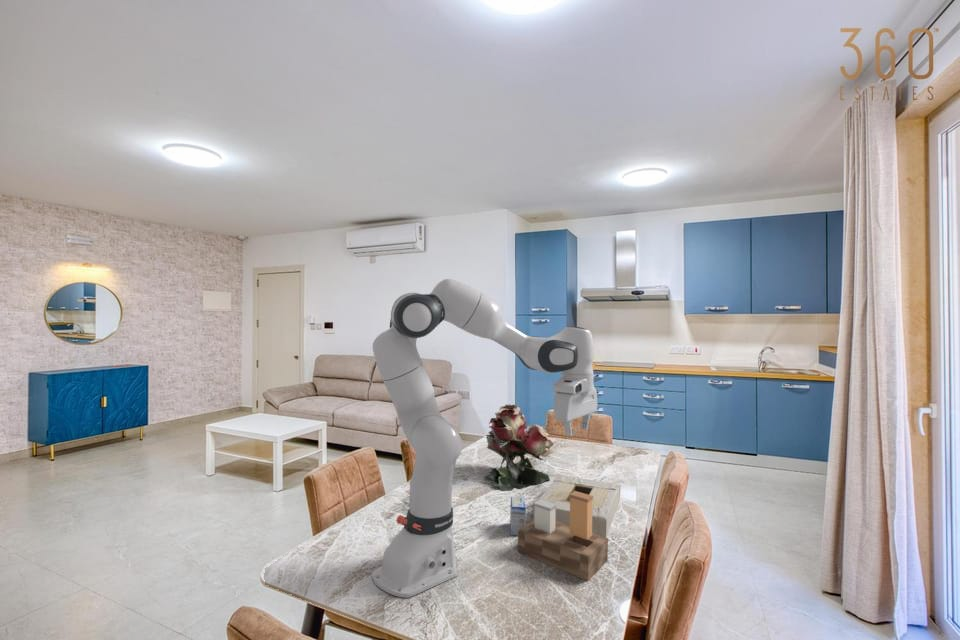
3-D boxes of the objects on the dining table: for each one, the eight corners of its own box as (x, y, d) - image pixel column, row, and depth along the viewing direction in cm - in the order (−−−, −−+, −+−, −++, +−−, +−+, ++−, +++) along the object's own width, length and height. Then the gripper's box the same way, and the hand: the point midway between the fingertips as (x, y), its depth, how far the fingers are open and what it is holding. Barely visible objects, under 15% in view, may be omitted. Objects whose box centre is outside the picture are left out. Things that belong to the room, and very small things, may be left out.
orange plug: (587, 540, 113) (587, 499, 113) (569, 533, 116) (569, 494, 116) (592, 535, 115) (592, 495, 115) (574, 529, 118) (575, 490, 119)
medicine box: (510, 523, 138) (510, 496, 138) (524, 523, 138) (524, 496, 138) (511, 535, 130) (511, 506, 130) (526, 536, 130) (526, 507, 130)
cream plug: (549, 546, 120) (550, 508, 120) (533, 540, 123) (534, 503, 123) (555, 542, 122) (556, 504, 122) (539, 536, 125) (540, 499, 125)
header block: (588, 580, 108) (588, 556, 108) (517, 551, 121) (518, 530, 121) (607, 560, 117) (607, 538, 117) (540, 535, 130) (540, 515, 130)
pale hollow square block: (608, 543, 127) (620, 502, 157) (607, 517, 127) (620, 480, 157) (532, 528, 137) (557, 492, 166) (531, 504, 137) (557, 472, 166)
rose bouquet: (560, 478, 179) (561, 406, 179) (504, 494, 162) (506, 413, 162) (520, 462, 200) (521, 397, 200) (467, 474, 183) (468, 402, 184)
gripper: (583, 379, 133) (583, 424, 133) (549, 386, 118) (549, 437, 117) (603, 381, 129) (602, 427, 129) (570, 388, 114) (570, 441, 113)
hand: (576, 432), depth 123 cm, fingers open, 8 cm apart
